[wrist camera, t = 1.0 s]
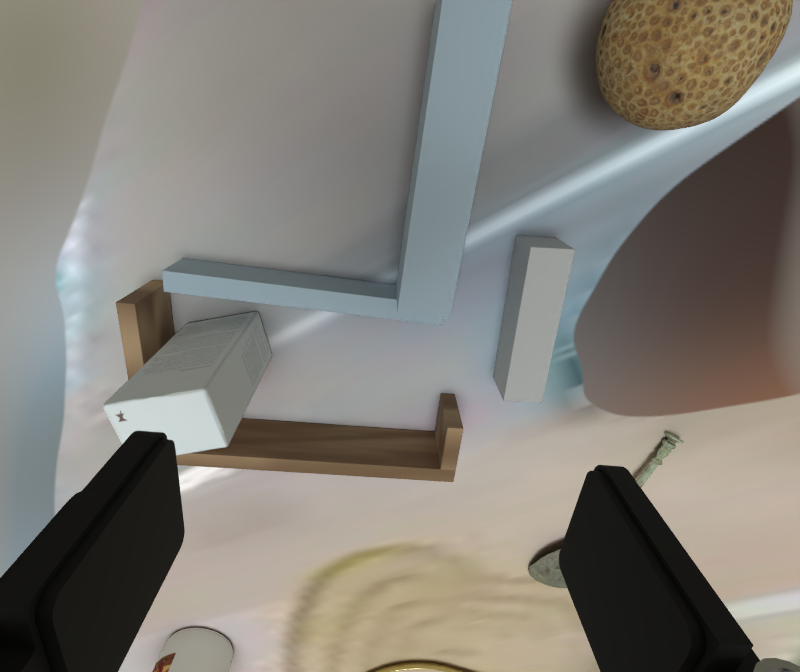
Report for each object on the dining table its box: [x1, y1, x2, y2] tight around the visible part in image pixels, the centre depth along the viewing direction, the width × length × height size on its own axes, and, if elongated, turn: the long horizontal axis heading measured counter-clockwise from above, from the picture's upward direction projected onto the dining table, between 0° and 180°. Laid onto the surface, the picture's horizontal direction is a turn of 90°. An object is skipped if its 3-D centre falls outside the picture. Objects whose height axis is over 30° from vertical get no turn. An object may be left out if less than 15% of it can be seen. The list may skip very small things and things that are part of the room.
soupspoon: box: [529, 432, 684, 588], centre depth 44 cm, size 22×3×7 cm
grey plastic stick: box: [493, 236, 575, 402], centre depth 34 cm, size 12×3×4 cm, turn 177°
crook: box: [162, 0, 512, 325], centre depth 28 cm, size 20×20×6 cm
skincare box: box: [102, 311, 272, 456], centre depth 31 cm, size 6×4×12 cm
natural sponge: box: [596, 0, 793, 130], centre depth 24 cm, size 9×9×10 cm
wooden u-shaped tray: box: [116, 280, 463, 482], centre depth 35 cm, size 13×24×5 cm, turn 84°
